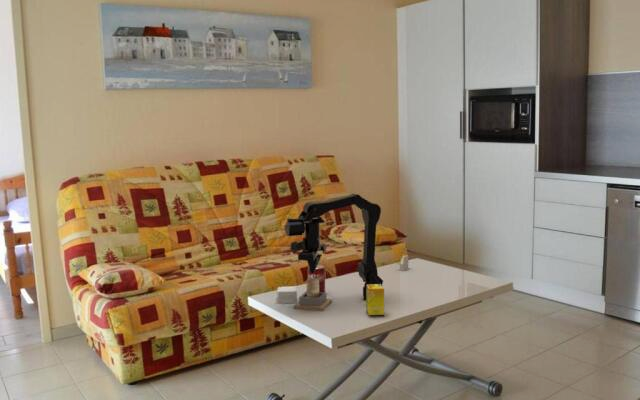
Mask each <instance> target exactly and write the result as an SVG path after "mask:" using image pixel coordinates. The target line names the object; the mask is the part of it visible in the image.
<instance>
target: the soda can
mask: <svg viewBox="0 0 640 400" xmlns="http://www.w3.org/2000/svg"><path fill="white" fill-rule="evenodd" d="M307 279H319V292H323V293H326V267H325V266H324V265H322V264H318V265H317V268H316V270H315V272H314V274H312V273H311V271H310V268H309V266H308V267H307Z"/></svg>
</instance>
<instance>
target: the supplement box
mask: <svg viewBox="0 0 640 400" xmlns="http://www.w3.org/2000/svg"><path fill="white" fill-rule="evenodd" d="M365 301H366V303H365V304H366V305H365V306H366V310H365V311H366V314H367V316H368V317H369V318H377V317H380V316H381V317H385V287H383V284H382V285H381V284H369V285H366V300H365ZM381 317H380V318H381Z"/></svg>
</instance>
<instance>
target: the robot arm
mask: <svg viewBox="0 0 640 400" xmlns="http://www.w3.org/2000/svg"><path fill="white" fill-rule="evenodd" d="M350 206H355V207H357V208H358V209H360V210H361V216H362V220H363V223H364V230H363V231H364V234H363V254H362V255H363V257H362V260H361V262H357V271H356V272H357V273H358V275H359V278H361V279H362V281H363V283H364V286H363V287H362V297H363V298H362V299H363V300H365V301H366V285H369V284H381V285H382V286H383V285H384V284H383V283H384V280H383V279H382V278H381V277H380V276H379V275H378V267H377V263H376V260H375V257H376V256H375V254H376V236H377V224H378V223H379V221H380V218H381V213H382V208H381V206H380V205H379V204H377V203H375V202H371V201H368V200H367V199H365V198H364V197H362V196H361V195H360V194H358V193H351V194H348V195H345V196H340V197H336V198H333V199H329V200H325V201H322V200H321V201H317V200H316V201H308V202H306V203H305V204H304V205H303V208H302V210H301V212H300V214H299V216H298V217H296V218H286V223H285V226H284V228H285V229H284V230H285V235H286V236H287V237H295V236H302V235H304V237H303V238H302V240H299V241H294V242H291V244H290V248H289V249H290V250H291V251H292V253H296V252H299V251H301V250H302V251H301V252H299V253H298V254H297V260H298V261H306V262H307V264H308V267H309V268H310V271H311V273H312V274H314V272H315V270H316V268H317V265H319V262H320V260H321V258H322V256H323V254H321V253H320V254H319V251H320V252H322V253H326V251H327V246H326V245H325V243H321V241H320V240H321V239H322V235H321V236H320V224H324V223H325V220H324V219H323V218H322V217H321V216H324V215H325V214H327V213H328V212H331V211H335V210H338V209H342V208H346V207H350Z"/></svg>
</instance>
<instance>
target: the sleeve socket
mask: <svg viewBox="0 0 640 400" xmlns="http://www.w3.org/2000/svg"><path fill="white" fill-rule="evenodd" d="M298 300H299V301H297V302H296V303H294V305H293V309H295V310H296V309H297V310H307V311H310V310H311V311H318V312H323V311H325V310H326V309H327V308H328V307H329V305H330V304H331V303H332V302H333V300H332V299H331V298H327V292H325V293H323V292H319V298H313V297H307V290H305V292H303V293H302V294H301V295H300V296H299V299H298Z"/></svg>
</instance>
